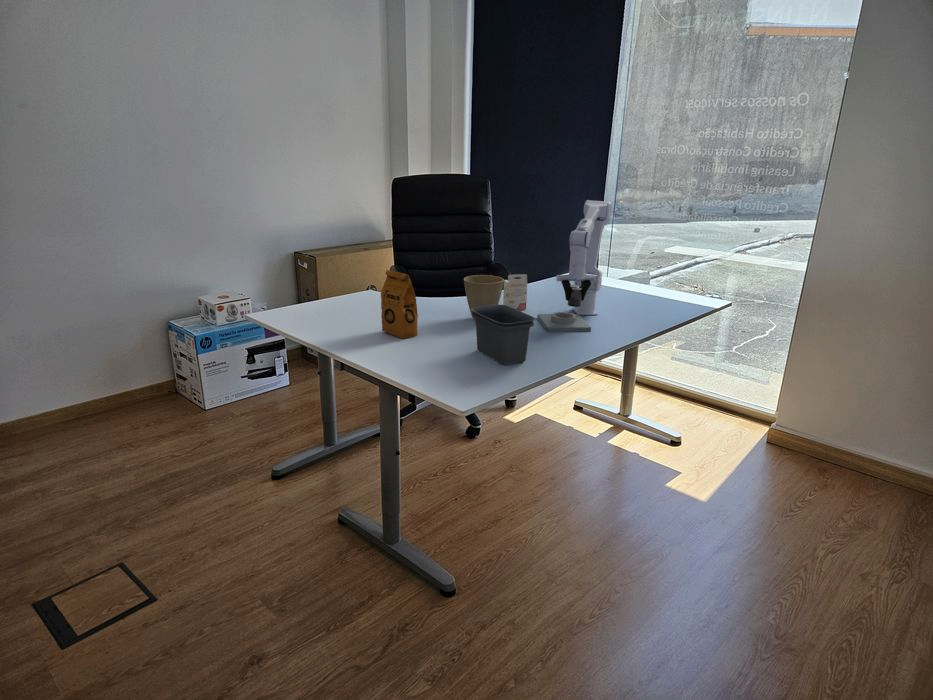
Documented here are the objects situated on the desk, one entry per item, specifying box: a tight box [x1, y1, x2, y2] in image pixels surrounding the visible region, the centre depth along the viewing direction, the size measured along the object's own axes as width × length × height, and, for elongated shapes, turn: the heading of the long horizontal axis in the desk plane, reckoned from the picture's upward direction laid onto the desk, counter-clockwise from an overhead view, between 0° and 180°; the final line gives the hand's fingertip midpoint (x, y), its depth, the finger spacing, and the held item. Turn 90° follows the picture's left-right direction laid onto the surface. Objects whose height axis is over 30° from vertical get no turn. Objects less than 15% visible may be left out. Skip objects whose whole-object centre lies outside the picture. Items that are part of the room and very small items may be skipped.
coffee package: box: [380, 269, 419, 340], centre depth 207 cm, size 10×12×22 cm
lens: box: [567, 284, 583, 308], centre depth 222 cm, size 5×5×7 cm
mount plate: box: [537, 311, 592, 332], centre depth 226 cm, size 18×16×4 cm
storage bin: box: [471, 304, 536, 366], centre depth 189 cm, size 21×16×14 cm
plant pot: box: [463, 274, 505, 322], centre depth 226 cm, size 15×15×16 cm
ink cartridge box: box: [502, 273, 528, 311], centre depth 243 cm, size 9×5×15 cm, turn 105°
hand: (574, 300), depth 223 cm, fingers closed on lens, 5 cm apart
